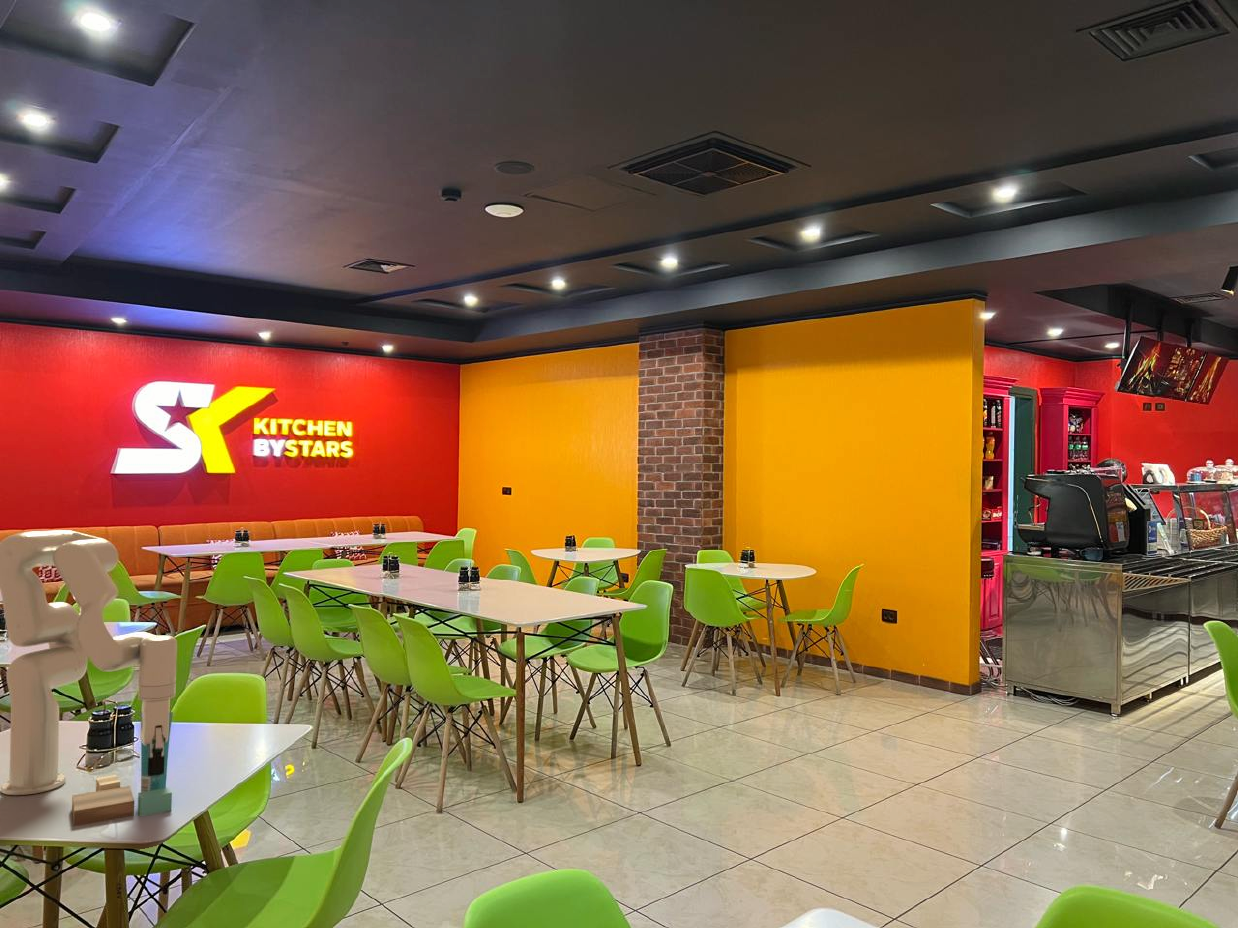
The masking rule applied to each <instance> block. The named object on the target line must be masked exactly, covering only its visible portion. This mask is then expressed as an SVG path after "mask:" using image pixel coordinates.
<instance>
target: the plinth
mask: <svg viewBox="0 0 1238 928" xmlns="http://www.w3.org/2000/svg"><path fill="white" fill-rule="evenodd" d="M71 802H72V803H71V812H72V819H73V826H80V825H85V824H91V823H95V822H102V821H107V820H112V819H117V818H118V819H119V818H123V817H130V816H134V815H135V798H134V795H133V791H132V789H131V786H130V785H128V786H122V787H121V786H120V788H114V789H108V790H102V791H96V790H95V791H91V792H85V793H79V794H73V795H72V799H71Z"/></svg>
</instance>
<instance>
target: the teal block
mask: <svg viewBox="0 0 1238 928" xmlns="http://www.w3.org/2000/svg"><path fill="white" fill-rule="evenodd" d="M137 793H138V794H137V795H138V796H137V797H138V798H137V812H138V814H139V816H140V817H144V816H149V815H154V814H155V815H156V814H160V813H165V812H169V811H172V807H173V806H172V805H173V804H172V803H173V802H172V800H173V799H172V798H173V796H172V794H173V792H172V791H171V788H170V787H166V788H163V789H157V790H151V791H146V792H141V791H140V792H137Z"/></svg>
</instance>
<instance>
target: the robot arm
mask: <svg viewBox="0 0 1238 928" xmlns="http://www.w3.org/2000/svg"><path fill="white" fill-rule="evenodd" d="M118 562H119V552H118V550H117V547H116V546H115V545H114V544H113V543H112V542H110V541H109V540H107V539H105V538H103V537H99V536H98V537H97V536H95V535H90V534H86V533H82V532H80V531H74V530H66V529H58V530H57V529H56V530H41V531H40V530H37V531H36V530H34V531H24V532H19V533H15V534H11V535H9V536H7V537H5V538H4V539H3V540H2V541H0V593H1V600H2V606H3V614H4V617H5V625H6V631H7V635H8V638H9V640H10V643H11V644H13V645H14V646H16V647H19V648H29V647H35V646H41V645H45V644H48V647H49V648H45V649H40V650H35V651H32V652H28V653H24V654H21V655H20V656H18V657H16V658H14V660H12V662H11V663H9V666H8V668H7V670H6V682H7V683H6V684H7V688H8V693H9V698H10V700H9V701H10V735H9V736H10V743H9V744H10V745H9V779H8V781H5V782H4V783H3V784H2V785H1V786H0V792H1V793H2V794H4V795H9V796H25V795H34V794H40V793H44V792H48V791H52V790H54V789H56V788H57V789H58V788H59V787H61V786H63V785H64V784H65V783H66V775H64V774H62V773H59V749H60V748H59V745H60V741H59V740H60V739H59V737H60V706H59V703H58V700H57V699H56V696H55V695H54V693H53V692H52V690H54V689H56V688H60V687H64V686H68V685H70V684H74V683H76V682H78V681H80V680H81V679H82V678H83V677H84V676H85V674H86V672H87V669H88V660H89V661H90V662H91V663H92V664H93V666H94V667H95V668H97V669H98V670H100V671H102V672H115V671H119V670H123V669H127V668H132V667H135V666H138V692H137V693H138V694H137V696H138V698H137V700H139V701H142V703H141V711H142V716H141V719H140V727H139V728H140V729H139V737H140V742H141V741H142V743H143V745H145V746H147V744H150V758H148V776H154V775H160V774H163V773H164V743H166V742H167V741H168V732H169V712H170V710H171V709H170V707H171V706H170V705H171V704H170V702H171V701H170V700H171V699H174V698H176V686H177V683H176V681H177V659H178V657H177V656H178V640H177V639H176V638H175V636H172V635H167V634H165V635H162V634H161V635H156V634H152V633H149V632H146V631H144V632H143V631H136V632H131V633H125V634H121V635H116V636H112V635H111V633H110V632H109V630H108V628H107V627H106V624H105V622H104V617H103V615H104V614H103V612H104V609H105V608H106V607H107V606H109V605H110V604H112V602H113V601H115V600H116V598H117V597H118V594H119V589H118V587H117V585H116V584H115V583H114V580H113V579H112V578H111V576H110V575H109V572H111V571H113V570H114V569H115V568H116V566H117V565H118ZM50 566H54V567H55V569H56V571H57V573H58V574H59V576H60V577H61V579H62V581H63V583H64V584H65V586H66V587H67V589H68V591H69V592H70V594H71V596H72V597H73V600H74V601H75V602H76V604H77V606H78V608H79V612H78V611H77V609H76V608H75V607H74V606H73V605H71V604H70V603H67V602H63V601H55V602H49V603H48V601H47V596H46V591H45V590H46V589H45V586H44V584H43V583H44V582H43V581H42V579H40V577H39V575H37V573H36V572H35V571H33V569H34V568H39V567H50ZM141 725H142V726H141ZM164 738H165V739H164ZM152 741H155V743H153V744H152ZM153 746H155V748H154V749H153Z"/></svg>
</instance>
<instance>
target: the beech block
mask: <svg viewBox="0 0 1238 928" xmlns="http://www.w3.org/2000/svg"><path fill="white" fill-rule="evenodd" d="M114 788H121V780H120V778H119V777H118V776H117V774H113V775H106V776H102V777H101V776H100V777H96V778H95V792H96V791H102V790H108V789H114Z"/></svg>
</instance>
